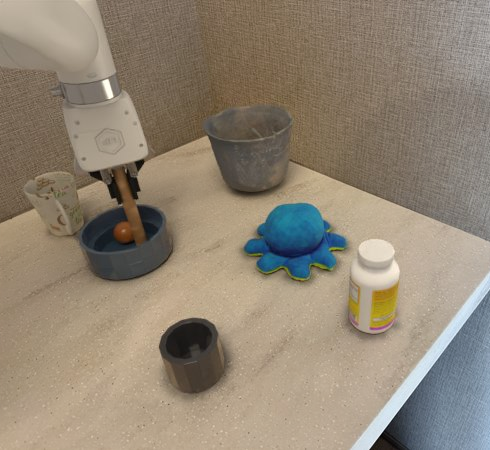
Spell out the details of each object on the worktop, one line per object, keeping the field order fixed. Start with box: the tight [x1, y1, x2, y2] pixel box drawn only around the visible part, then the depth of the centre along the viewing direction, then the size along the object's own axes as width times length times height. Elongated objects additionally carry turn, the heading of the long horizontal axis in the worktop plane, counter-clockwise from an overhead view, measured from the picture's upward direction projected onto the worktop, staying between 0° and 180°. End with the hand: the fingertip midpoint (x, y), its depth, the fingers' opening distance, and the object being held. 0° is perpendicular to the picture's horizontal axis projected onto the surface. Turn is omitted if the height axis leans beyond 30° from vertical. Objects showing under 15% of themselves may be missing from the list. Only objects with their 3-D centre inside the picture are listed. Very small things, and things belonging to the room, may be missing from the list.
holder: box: [158, 317, 225, 394], centre depth 57 cm, size 7×7×6 cm
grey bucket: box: [202, 104, 295, 193], centre depth 91 cm, size 18×18×15 cm
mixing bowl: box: [77, 203, 173, 281], centre depth 77 cm, size 14×14×6 cm
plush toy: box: [243, 202, 348, 282], centre depth 76 cm, size 17×17×8 cm
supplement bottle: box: [348, 238, 401, 335], centre depth 61 cm, size 7×7×13 cm
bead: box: [113, 221, 134, 244], centre depth 79 cm, size 4×4×4 cm
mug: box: [23, 171, 85, 237], centre depth 82 cm, size 8×13×10 cm, turn 40°
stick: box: [110, 164, 148, 246], centre depth 73 cm, size 2×2×14 cm
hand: (127, 197), depth 73 cm, fingers closed on stick, 2 cm apart
